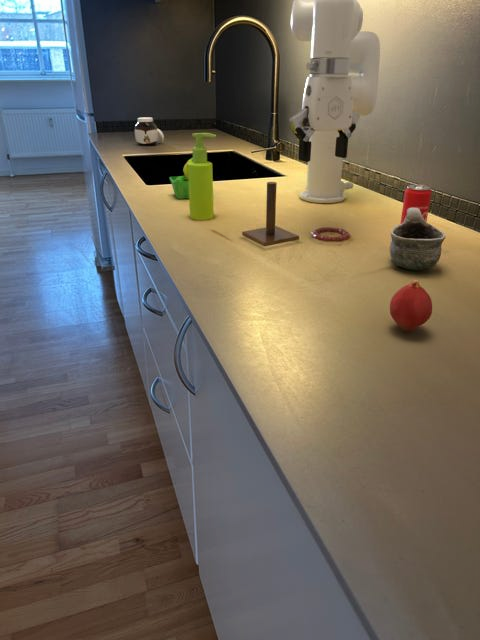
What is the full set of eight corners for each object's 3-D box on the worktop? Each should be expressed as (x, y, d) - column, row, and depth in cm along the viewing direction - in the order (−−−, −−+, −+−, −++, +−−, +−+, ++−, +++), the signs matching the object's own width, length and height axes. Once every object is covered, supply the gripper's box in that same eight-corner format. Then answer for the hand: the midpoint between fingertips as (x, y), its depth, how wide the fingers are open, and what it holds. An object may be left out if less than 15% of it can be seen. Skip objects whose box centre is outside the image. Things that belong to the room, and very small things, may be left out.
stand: (275, 231, 118) (277, 176, 112) (299, 242, 111) (302, 184, 105) (242, 238, 113) (242, 181, 108) (264, 249, 107) (265, 189, 101)
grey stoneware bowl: (395, 276, 93) (403, 223, 89) (375, 253, 104) (381, 205, 100) (446, 275, 94) (457, 222, 89) (421, 252, 105) (429, 204, 100)
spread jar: (134, 145, 235) (131, 118, 229) (142, 142, 245) (140, 116, 239) (159, 146, 233) (157, 119, 228) (166, 142, 243) (164, 116, 237)
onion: (381, 321, 77) (388, 272, 74) (418, 320, 78) (426, 271, 74) (394, 340, 72) (402, 288, 68) (434, 339, 72) (444, 287, 69)
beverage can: (423, 240, 112) (432, 185, 106) (422, 247, 107) (432, 190, 102) (398, 238, 113) (406, 183, 108) (396, 245, 109) (405, 188, 103)
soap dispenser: (214, 221, 125) (212, 135, 116) (187, 219, 127) (183, 134, 118) (220, 214, 131) (218, 131, 121) (193, 213, 132) (190, 131, 123)
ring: (332, 231, 118) (333, 224, 117) (357, 241, 112) (358, 234, 111) (303, 236, 114) (304, 230, 113) (327, 247, 108) (328, 240, 107)
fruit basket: (207, 191, 153) (206, 152, 148) (215, 198, 146) (214, 157, 141) (169, 194, 150) (167, 154, 145) (176, 201, 142) (173, 159, 137)
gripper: (305, 69, 94) (300, 165, 101) (375, 69, 101) (365, 158, 109) (282, 68, 99) (278, 159, 107) (350, 68, 107) (342, 153, 115)
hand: (322, 159), depth 108 cm, fingers open, 9 cm apart
